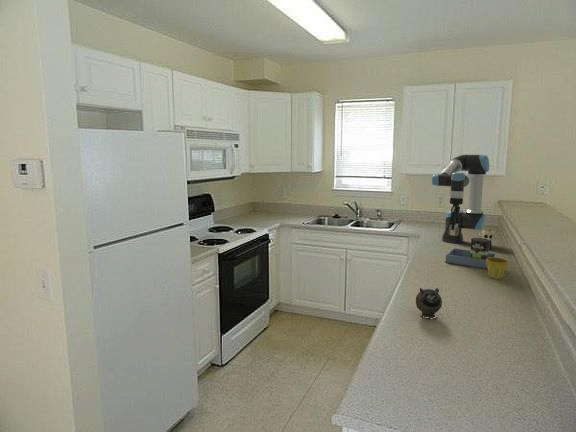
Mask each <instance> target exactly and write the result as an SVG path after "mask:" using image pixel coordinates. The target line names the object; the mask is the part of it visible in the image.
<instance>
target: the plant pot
mask: <svg viewBox="0 0 576 432" xmlns="http://www.w3.org/2000/svg"><path fill="white" fill-rule="evenodd" d="M508 263H509V262H508V259H505V258H501V257H497V258H496V257H490V258H487V259H486V265H487V268H488V269H487V274H488V277H489V278H491V279H495V280H500V279H503V276H504V273H505V271H506V269H507V268H508V265H509V264H508Z"/></svg>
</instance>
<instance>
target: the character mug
mask: <svg viewBox="0 0 576 432" xmlns="http://www.w3.org/2000/svg"><path fill="white" fill-rule="evenodd" d="M478 234H479V235H478V238H484V239H488V240H490V243H489V250H491V249H492V247H493V246H492V245H493V244H492V241H493V240H494V239H497V236H498V235H497V234H498V233H495V231H494V230H492V229H482V232H479V233H478Z"/></svg>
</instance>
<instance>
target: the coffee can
mask: <svg viewBox="0 0 576 432" xmlns="http://www.w3.org/2000/svg"><path fill="white" fill-rule="evenodd" d="M489 243H490V240H488V239H484V238H482V237H472V238H471V239H470V249H469V250H470V258H476V259H483V260H486V259H487V258H488V253H490V249H489Z"/></svg>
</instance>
